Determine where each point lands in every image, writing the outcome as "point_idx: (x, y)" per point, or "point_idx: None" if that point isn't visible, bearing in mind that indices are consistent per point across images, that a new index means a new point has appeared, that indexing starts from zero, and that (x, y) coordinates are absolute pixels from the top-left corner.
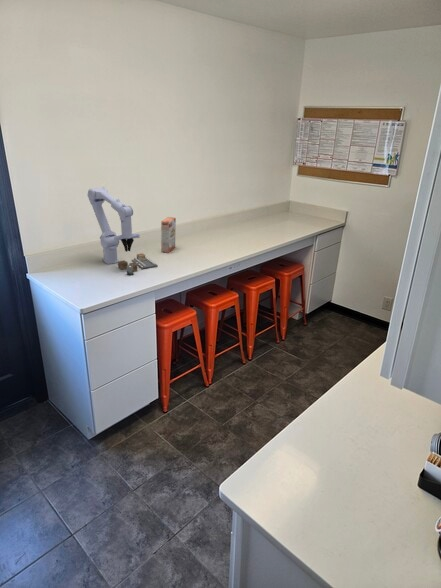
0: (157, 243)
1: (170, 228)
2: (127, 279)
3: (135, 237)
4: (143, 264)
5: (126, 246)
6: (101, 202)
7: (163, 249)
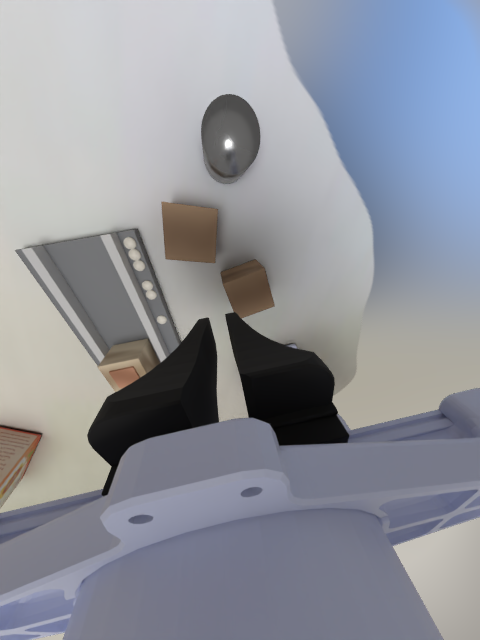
0: (74, 493)
1: None
2: (269, 18)
3: (41, 513)
4: (118, 257)
5: (243, 334)
6: None
7: (18, 445)
